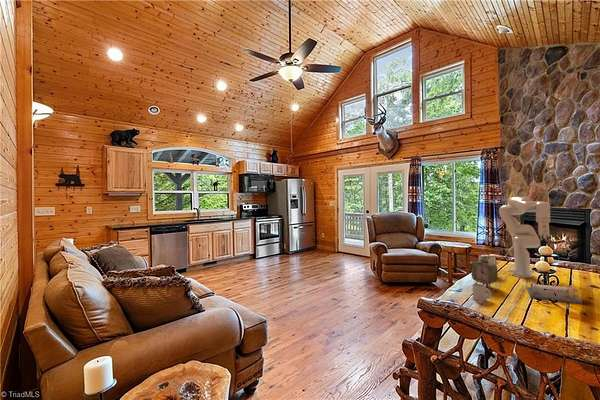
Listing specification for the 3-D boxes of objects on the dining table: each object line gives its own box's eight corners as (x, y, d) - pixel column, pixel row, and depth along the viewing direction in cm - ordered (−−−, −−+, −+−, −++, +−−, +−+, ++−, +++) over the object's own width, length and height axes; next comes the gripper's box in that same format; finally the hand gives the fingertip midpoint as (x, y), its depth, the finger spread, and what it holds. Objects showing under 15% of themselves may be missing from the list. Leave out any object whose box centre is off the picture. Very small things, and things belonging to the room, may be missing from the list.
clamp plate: (530, 297, 182) (530, 286, 182) (527, 289, 195) (526, 279, 195) (582, 304, 169) (581, 292, 169) (574, 295, 182) (574, 284, 182)
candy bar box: (493, 274, 232) (493, 254, 232) (497, 276, 227) (496, 255, 227) (479, 274, 234) (478, 254, 234) (481, 276, 229) (481, 255, 229)
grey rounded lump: (474, 296, 188) (473, 283, 188) (492, 299, 182) (491, 285, 182) (471, 299, 183) (471, 286, 183) (490, 303, 176) (490, 288, 176)
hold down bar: (533, 288, 186) (532, 285, 185) (532, 286, 189) (531, 283, 189) (578, 292, 174) (577, 289, 174) (576, 290, 178) (575, 287, 178)
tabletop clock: (471, 284, 211) (470, 251, 210) (479, 282, 214) (478, 249, 214) (491, 290, 197) (490, 254, 197) (499, 288, 201) (498, 253, 200)
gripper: (552, 221, 191) (552, 248, 191) (548, 218, 203) (548, 244, 204) (537, 221, 195) (538, 247, 195) (534, 218, 207) (534, 243, 208)
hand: (543, 245), depth 200 cm, fingers closed
